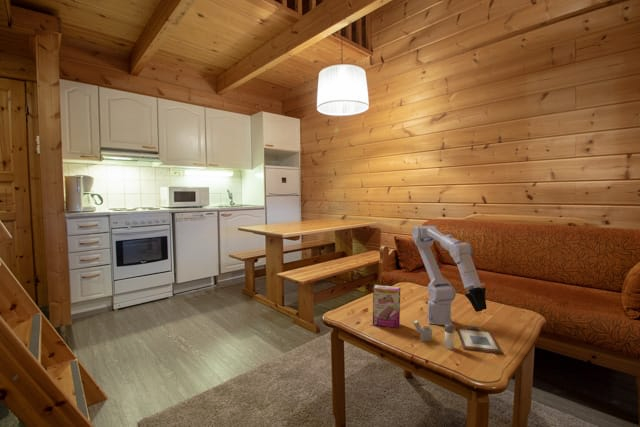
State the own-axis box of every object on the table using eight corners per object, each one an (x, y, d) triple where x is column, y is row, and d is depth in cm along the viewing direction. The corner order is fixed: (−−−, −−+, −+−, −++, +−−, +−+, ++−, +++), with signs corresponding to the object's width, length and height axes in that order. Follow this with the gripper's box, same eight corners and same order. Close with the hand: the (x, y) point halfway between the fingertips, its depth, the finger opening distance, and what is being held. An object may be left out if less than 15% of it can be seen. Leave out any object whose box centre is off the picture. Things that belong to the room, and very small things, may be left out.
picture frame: (463, 349, 107) (464, 343, 107) (456, 329, 123) (456, 324, 122) (501, 353, 104) (501, 348, 104) (488, 332, 119) (488, 327, 119)
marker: (445, 349, 108) (445, 326, 107) (443, 344, 110) (444, 322, 110) (454, 350, 107) (454, 327, 106) (452, 345, 110) (453, 323, 109)
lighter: (429, 338, 115) (430, 318, 115) (432, 340, 114) (432, 320, 113) (412, 340, 114) (412, 319, 113) (414, 342, 112) (415, 321, 112)
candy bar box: (372, 325, 126) (372, 288, 125) (373, 320, 131) (373, 284, 130) (399, 328, 123) (400, 290, 122) (399, 323, 128) (400, 286, 127)
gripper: (483, 267, 106) (498, 306, 100) (476, 275, 118) (488, 310, 113) (462, 271, 107) (475, 310, 101) (457, 278, 120) (469, 313, 114)
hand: (481, 310), depth 107 cm, fingers open, 7 cm apart
